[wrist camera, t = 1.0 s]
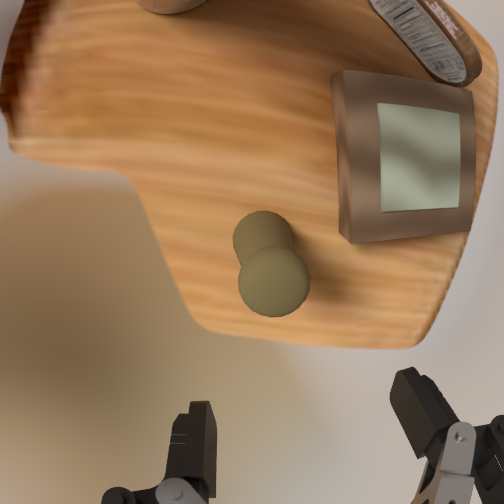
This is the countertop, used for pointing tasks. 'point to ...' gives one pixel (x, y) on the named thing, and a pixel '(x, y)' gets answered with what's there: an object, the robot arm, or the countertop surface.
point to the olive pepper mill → (269, 265)
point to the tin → (433, 38)
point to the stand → (402, 156)
